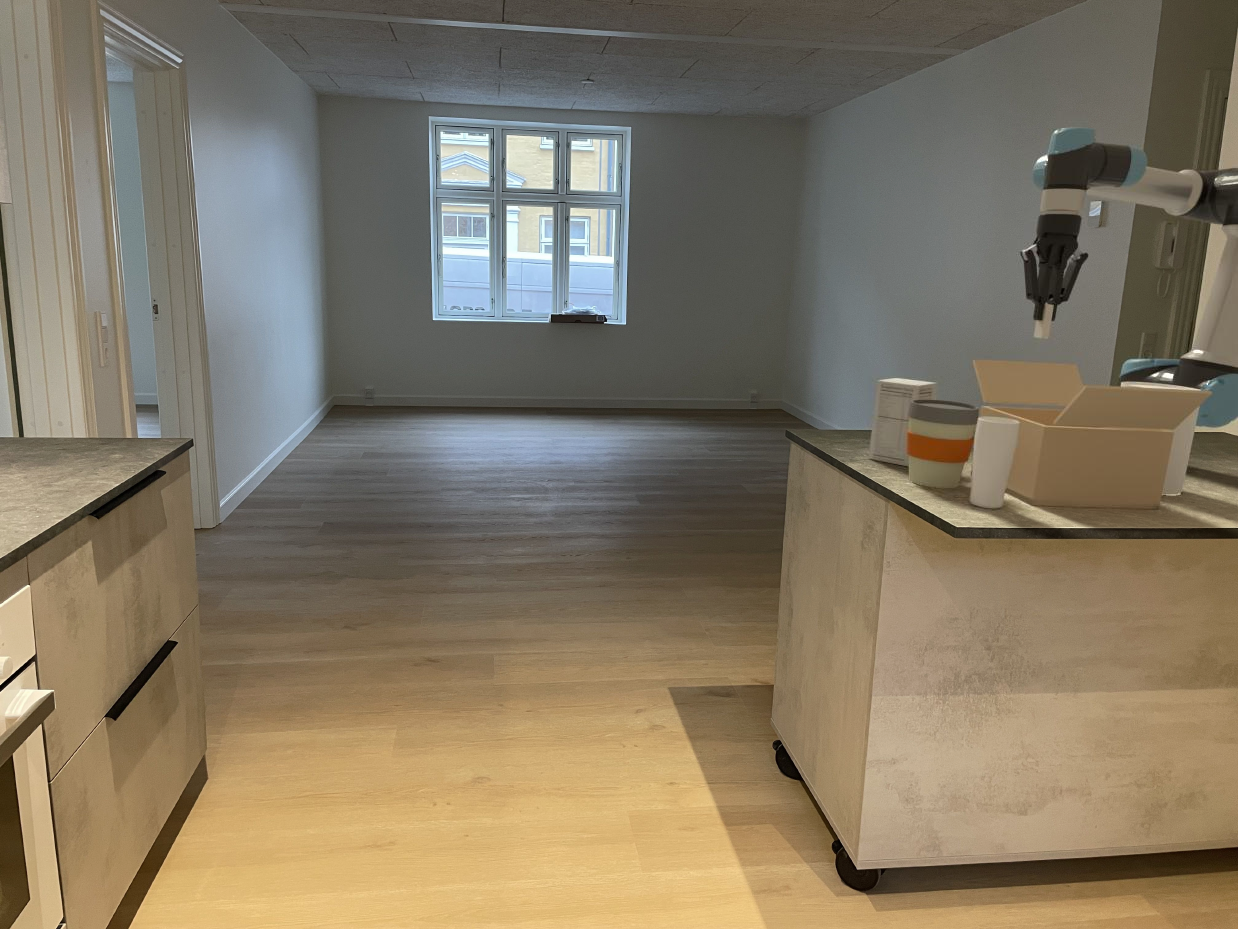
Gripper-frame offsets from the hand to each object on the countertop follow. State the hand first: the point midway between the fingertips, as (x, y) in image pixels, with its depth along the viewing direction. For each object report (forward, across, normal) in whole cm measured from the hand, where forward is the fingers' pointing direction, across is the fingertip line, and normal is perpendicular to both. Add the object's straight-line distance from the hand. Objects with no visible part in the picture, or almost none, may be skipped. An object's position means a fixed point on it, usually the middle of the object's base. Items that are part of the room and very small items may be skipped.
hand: (1041, 337), depth 175 cm
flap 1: (+9, 0, 0) cm, 9 cm away
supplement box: (+28, +22, -8) cm, 37 cm away
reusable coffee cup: (+28, +23, +11) cm, 38 cm away
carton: (+28, 0, +15) cm, 31 cm away
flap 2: (+9, 0, +30) cm, 31 cm away
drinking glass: (+28, +21, +27) cm, 44 cm away
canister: (+28, -21, +9) cm, 36 cm away
